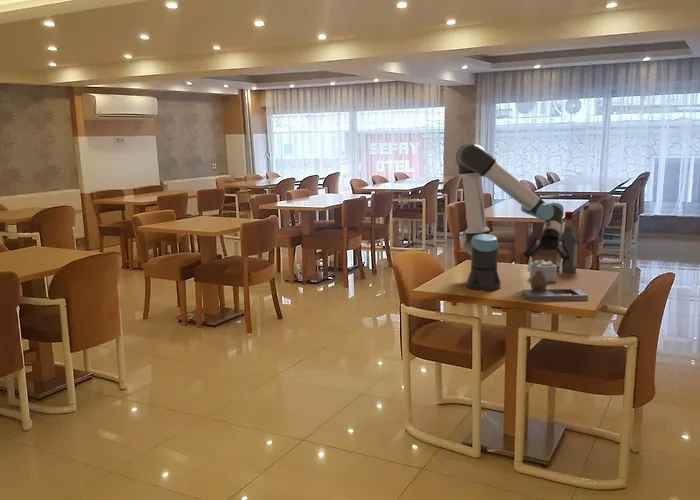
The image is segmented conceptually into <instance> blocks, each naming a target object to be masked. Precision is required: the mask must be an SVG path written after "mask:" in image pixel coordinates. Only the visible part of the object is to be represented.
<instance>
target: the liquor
mask: <svg viewBox="0 0 700 500" xmlns="http://www.w3.org/2000/svg"><path fill="white" fill-rule="evenodd" d="M573 214H574V212H573V211H564V218H565V219H564V222H565V223H564V229H563V231H562V232H560V235H559V242H562V241H565V246H566V248H567V250H568V252H569V255H570V258H571V260H570V261H566V265H565V267H563V268H562V273H571V274H573V273H576V271H577V264H578V248H579V247H578V245H579V243H578V242H579V240H578V238H577V237H576V235H575V233H574V232H573V227H572V226H573V224H572V223H573V216H574V215H573ZM557 247H558V249H559V250H560V251H561V252H562V253H563V254H564V256H566V255H565V253H564V250H563V247H561V246H560V245H559V246H557ZM560 263H561V257H560V256H559V255H558V254H557V253H556V264H555V265H556V266H557V270H556V271H557V272H558V273H559V269H560Z"/></svg>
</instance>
